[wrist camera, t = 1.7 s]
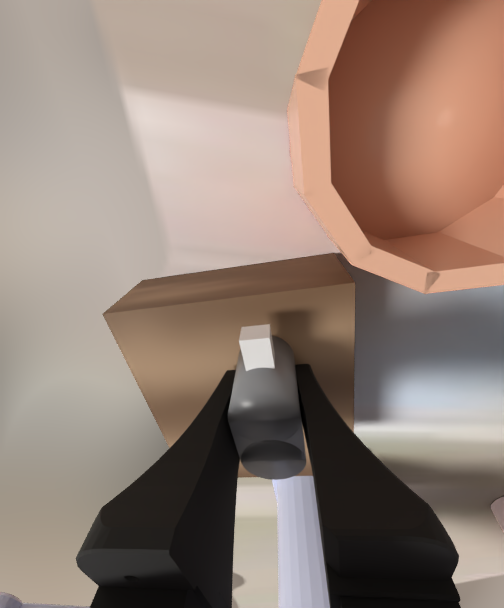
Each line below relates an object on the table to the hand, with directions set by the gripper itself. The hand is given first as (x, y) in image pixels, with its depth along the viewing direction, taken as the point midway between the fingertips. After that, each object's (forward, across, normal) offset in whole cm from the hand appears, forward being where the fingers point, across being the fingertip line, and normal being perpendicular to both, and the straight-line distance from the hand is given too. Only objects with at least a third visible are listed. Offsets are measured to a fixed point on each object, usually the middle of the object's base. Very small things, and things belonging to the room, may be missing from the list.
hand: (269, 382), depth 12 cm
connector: (0, 0, 0) cm, 0 cm away
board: (+4, +2, +2) cm, 5 cm away
